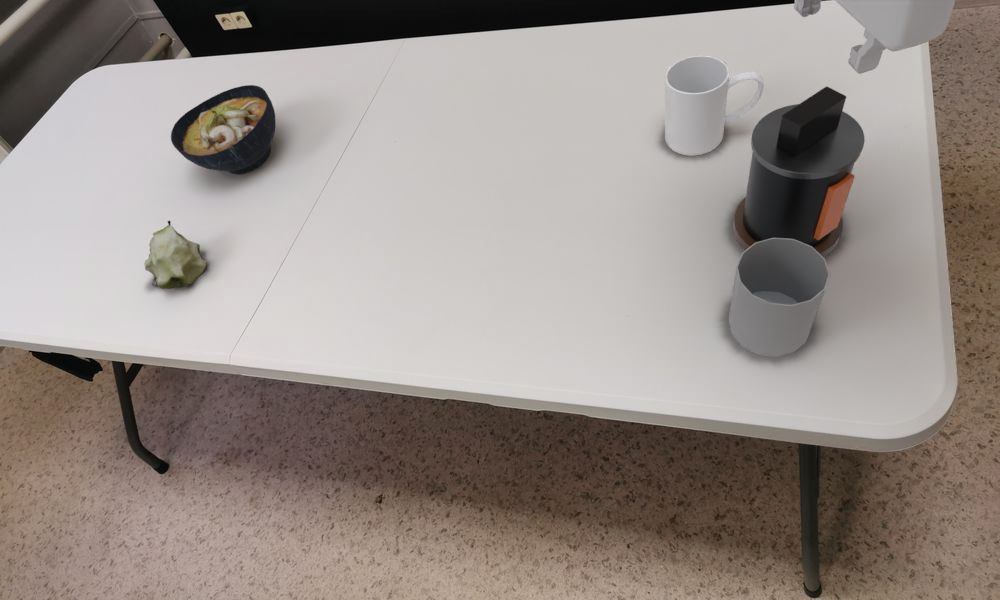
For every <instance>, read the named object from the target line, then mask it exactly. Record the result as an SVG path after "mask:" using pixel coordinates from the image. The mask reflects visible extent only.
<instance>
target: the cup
mask: <svg viewBox="0 0 1000 600" xmlns="http://www.w3.org/2000/svg"><path fill="white" fill-rule="evenodd" d="M830 276H831V273H830V270H829V267H828V264H827V261H826V258H825V257H823V256H821V255H820V254H819V253H818V252H817V251H816V250H815V249H814V248H813V247H812V246H810V245H807V244H805V243H802V242H800V241H797V240H795V239H787V238H770V239H767V240H763V241H759V242H756V243H754V244H753V245H752V246H750V247H749V248H748V249H746V250H745V251H744V250H743V252H741V255H740V257H739V259H738V262H737V264H736V267H735V274H734V279H733V287H732V293H731V294H732V295H731V300H730V307H729V313H728V319H727V320H728V325H729V330H730V334H731V336H732V337H733V338H734V340H735V341H736V342H737V343H738V344H739V345H740V347H741V348H743V349H746V350H748V351H749V352H751V353H752V354H755V355H757V356H764V357H772V358H778V357H782V356H787V355H790V354H791V355H792V354H795V352H797V351H798V350H799V349H800V348H801V347H802V346H804V345H805V344H806V343H807V341H808V338H809V335H810V332H811V330H812V327H813V324H814V322H815V319H816V316H817V313H818V311H819V309H820V308H819V307H820V305H821V302H822V300H823V297H824V294H825V291H826V288H827V285H828V282H829V279H830Z"/></svg>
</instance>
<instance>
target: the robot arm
mask: <svg viewBox="0 0 1000 600" xmlns="http://www.w3.org/2000/svg"><path fill="white" fill-rule="evenodd" d="M822 1H823V0H794V3H793V9H794V10H795V11H796V12H797V13H798V14H799V15H800V16H801V17H802V18H806V17H808V16H812V15H816V14H817V13H818V12H819V11H820V10H821V7H822ZM834 2H835V3H837V4H838V5H839V6H840V7H841V8H842V9H843V10H844V11H846V12H847V13H848V14H849V15H850V17H852V18H853V19H854V20H855V21H856V22H857V23H859V24H860V25H861V27H863V28H864V31H863V37H864V38H865V39H866V41H865V42H864V43H863V44H858V45H854V46H852V47H851V48H850V53H849V55H850V57H849V58H848V60H847V62H848V65H849V66H850V67H851V68H852V69H853V70H854V71H855V72H856V73H857V74H860V75H861V74H864V73H867V72H868V73H869V72H870V71H874V70H875V69H877V67H878V66H879V64H880V61H881V58H882V55H883V51H885V50H886V49H887V50H888V51H890V52H899V51H903V50H906V49H910V48H913V47H916V46H917V47H918V46H920V45H923V44H926V43H928V42H930V41H933V40H934V39H936V38H938V37H939V36H941V35H942V34H943V33H944V32H945V31H946V29H947V27H948V24H949V22H950V19H951V16H952V13H953V10H954V6H955V3H956V0H834Z"/></svg>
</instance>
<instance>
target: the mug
mask: <svg viewBox="0 0 1000 600" xmlns="http://www.w3.org/2000/svg"><path fill="white" fill-rule="evenodd" d="M750 80H752V81H755V82H757V89H756V92H755V94H754V96H753V97H752V98H751V99H750V100H749V101H748V102H747V103H746V104H744V105H743V106H742V107H740V108H738V109H737V110H735V111H733V112H731V113H729V114H727V115H726V111H727V101H728V92H729V91H728V90H729V89H730V88H731V87H733V86H735V85H737V84H739V83H741V82H745V81H750ZM763 93H764V79H763V77H762V75H761V74H759V73H758V72H756V71H745V72H742V73H739V74H737V75H734V76H732V77H730V69H729V66H728V65H727V64H726V63H725V62H724V61H723V60H722V59H719V58H717V57H714V56H709V55H693V56H692V55H691V56H687V57H685V58H682V59H679V60H678V61H676V62H674V63H673V64H671V65H670V66H669V67H668V68H667V70H666V72H665V76H664V138H665V143H666V144H667V146H668V148H669V149H670V150H672V151H673V152H674V153H677V154H678V155H679V154H680V155H683V156H689V157H690V156H691V157H695V156H702V155H705V154H708V153H710V152H712V151H714V150H715V149H717V148H718V146H720V144H721V143H722V141H723V139H724V133H725V125H727V124H728V123H732V122H733V121H735V120H736V119H739V118H740V117H742V116H744V115H745V114H747V113H748V112H749V111H751V110H752V109H753V108H754V107H755V106H756V105H757V104H758V102H759V100H760V99H761V97H762V95H763Z"/></svg>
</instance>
